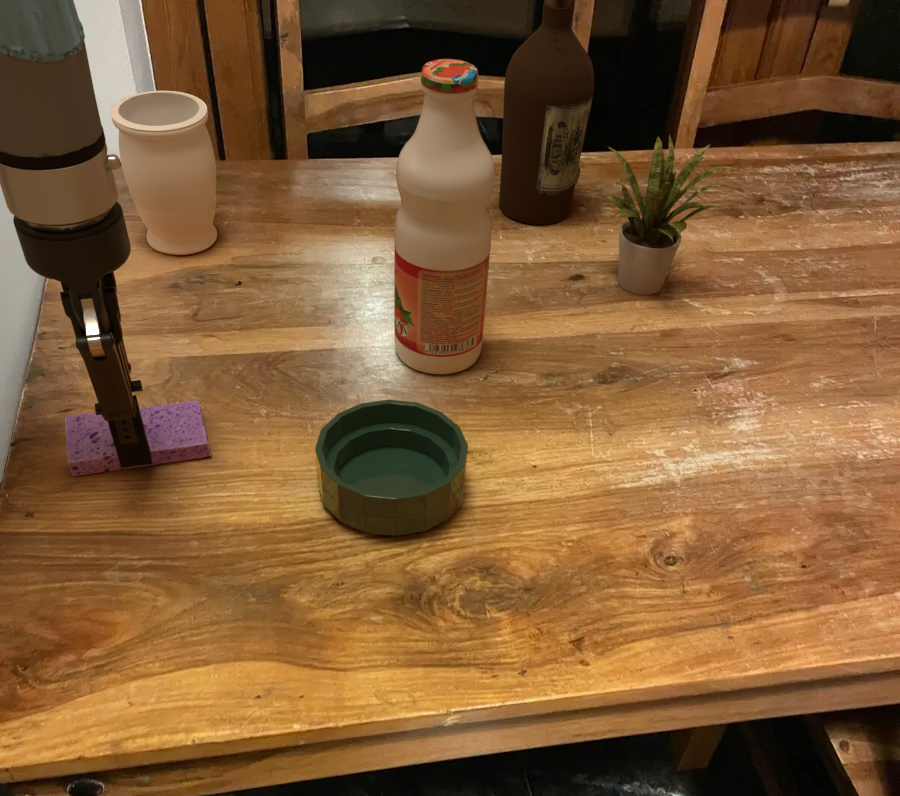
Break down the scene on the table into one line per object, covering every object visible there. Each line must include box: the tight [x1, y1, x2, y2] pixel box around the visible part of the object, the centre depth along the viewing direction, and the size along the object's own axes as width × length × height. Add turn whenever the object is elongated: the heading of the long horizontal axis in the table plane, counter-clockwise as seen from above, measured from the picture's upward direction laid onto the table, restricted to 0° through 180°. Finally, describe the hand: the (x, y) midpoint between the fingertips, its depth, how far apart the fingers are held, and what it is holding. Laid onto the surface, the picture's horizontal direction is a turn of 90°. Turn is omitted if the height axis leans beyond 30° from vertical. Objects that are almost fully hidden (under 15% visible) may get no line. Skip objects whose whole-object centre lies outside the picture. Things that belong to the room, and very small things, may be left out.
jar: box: [110, 90, 218, 256], centre depth 107 cm, size 11×10×15 cm
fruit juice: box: [393, 58, 496, 375], centre depth 90 cm, size 9×9×28 cm
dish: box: [314, 399, 469, 537], centre depth 84 cm, size 13×13×5 cm
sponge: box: [64, 399, 212, 477], centre depth 87 cm, size 7×13×2 cm, turn 106°
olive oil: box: [498, 0, 595, 226], centre depth 113 cm, size 11×11×25 cm
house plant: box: [605, 134, 741, 296], centre depth 104 cm, size 14×14×16 cm
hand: (136, 460), depth 84 cm, fingers closed
